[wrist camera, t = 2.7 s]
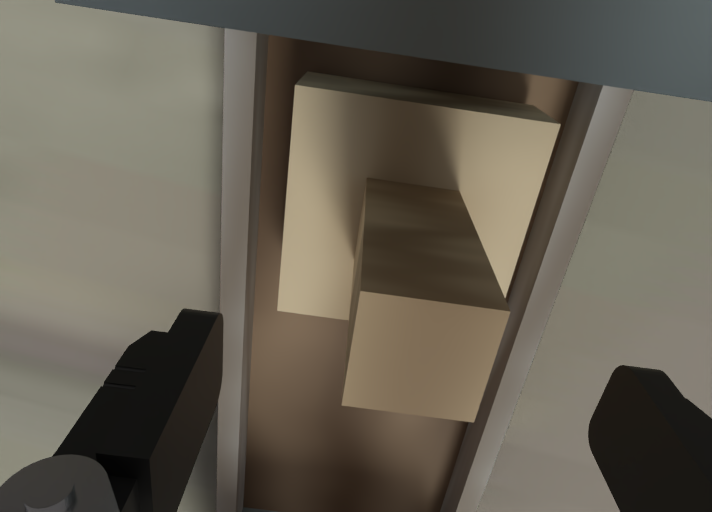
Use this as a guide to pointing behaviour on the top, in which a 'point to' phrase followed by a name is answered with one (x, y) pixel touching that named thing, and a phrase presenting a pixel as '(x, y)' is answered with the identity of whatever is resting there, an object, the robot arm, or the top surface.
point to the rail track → (329, 336)
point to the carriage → (409, 233)
